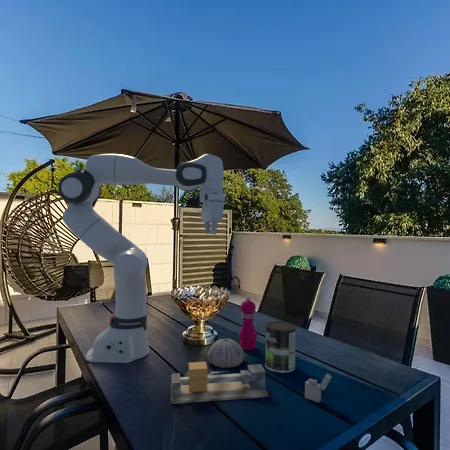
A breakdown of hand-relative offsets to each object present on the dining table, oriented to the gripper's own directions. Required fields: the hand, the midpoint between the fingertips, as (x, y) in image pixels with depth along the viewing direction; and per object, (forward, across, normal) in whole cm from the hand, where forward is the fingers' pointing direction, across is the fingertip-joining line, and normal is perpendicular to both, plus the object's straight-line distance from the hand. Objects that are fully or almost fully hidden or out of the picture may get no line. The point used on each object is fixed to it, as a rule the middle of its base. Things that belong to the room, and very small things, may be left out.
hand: (210, 234), depth 126 cm
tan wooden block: (+43, +29, -10) cm, 53 cm away
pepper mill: (+45, -1, +16) cm, 48 cm away
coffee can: (+45, +18, +21) cm, 53 cm away
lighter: (+45, +42, +22) cm, 65 cm away
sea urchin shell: (+45, +10, +4) cm, 47 cm away
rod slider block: (+45, +30, -4) cm, 54 cm away
